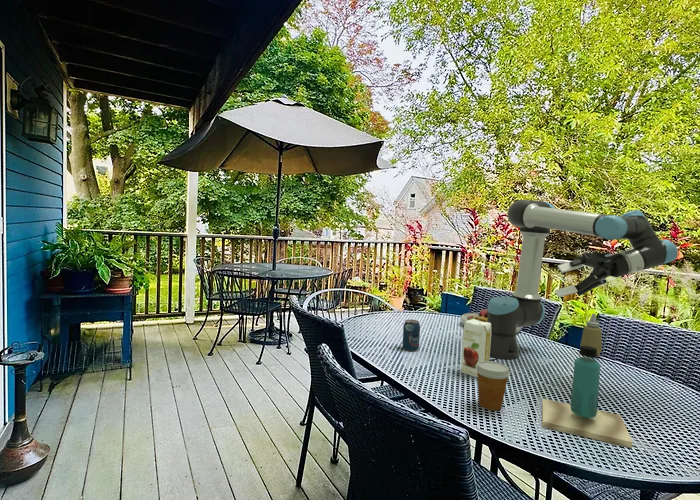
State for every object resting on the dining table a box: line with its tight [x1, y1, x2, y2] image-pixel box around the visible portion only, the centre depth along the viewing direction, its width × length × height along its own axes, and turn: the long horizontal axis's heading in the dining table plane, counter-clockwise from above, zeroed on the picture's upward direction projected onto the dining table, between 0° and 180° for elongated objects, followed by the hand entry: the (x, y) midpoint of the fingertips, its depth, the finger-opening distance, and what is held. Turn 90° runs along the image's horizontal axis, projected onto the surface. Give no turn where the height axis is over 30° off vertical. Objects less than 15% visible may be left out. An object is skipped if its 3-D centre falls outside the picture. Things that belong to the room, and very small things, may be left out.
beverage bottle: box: [570, 346, 602, 418], centre depth 110 cm, size 6×7×20 cm
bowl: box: [461, 308, 523, 334], centre depth 209 cm, size 30×30×8 cm
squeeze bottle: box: [580, 313, 603, 358], centre depth 171 cm, size 8×8×18 cm
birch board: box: [541, 398, 633, 449], centre depth 110 cm, size 20×16×2 cm
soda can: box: [402, 319, 421, 352], centre depth 168 cm, size 7×7×12 cm
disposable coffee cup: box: [476, 360, 511, 411], centre depth 118 cm, size 10×10×12 cm
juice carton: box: [460, 319, 491, 379], centre depth 143 cm, size 8×9×19 cm
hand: (558, 282), depth 134 cm, fingers open, 13 cm apart
